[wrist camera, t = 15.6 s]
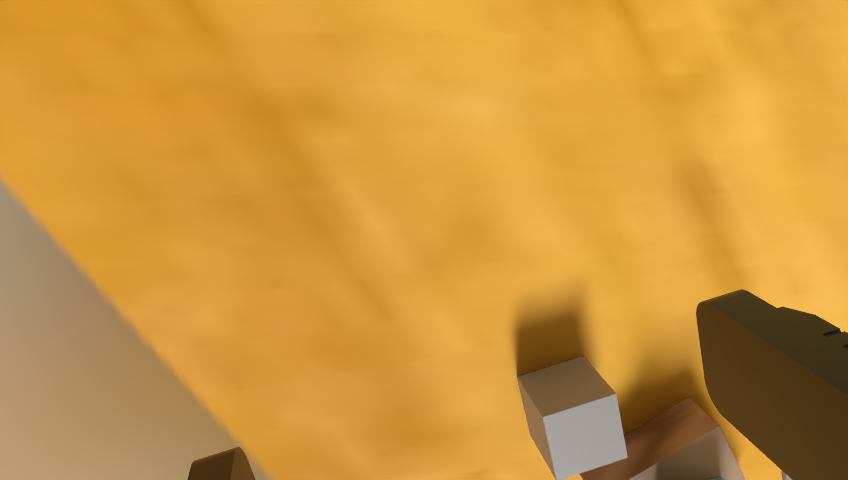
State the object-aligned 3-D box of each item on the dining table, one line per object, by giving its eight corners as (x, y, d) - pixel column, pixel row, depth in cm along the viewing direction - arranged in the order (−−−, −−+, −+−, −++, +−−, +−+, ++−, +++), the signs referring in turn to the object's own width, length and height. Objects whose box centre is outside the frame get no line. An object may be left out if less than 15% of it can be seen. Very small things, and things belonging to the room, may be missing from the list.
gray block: (582, 355, 45) (616, 393, 40) (594, 414, 46) (627, 457, 41) (516, 376, 44) (542, 417, 39) (530, 434, 46) (556, 481, 41)
